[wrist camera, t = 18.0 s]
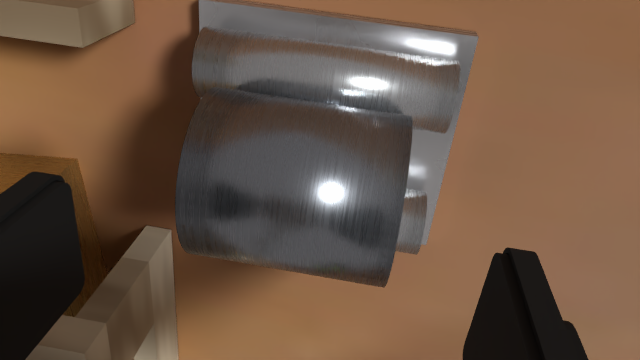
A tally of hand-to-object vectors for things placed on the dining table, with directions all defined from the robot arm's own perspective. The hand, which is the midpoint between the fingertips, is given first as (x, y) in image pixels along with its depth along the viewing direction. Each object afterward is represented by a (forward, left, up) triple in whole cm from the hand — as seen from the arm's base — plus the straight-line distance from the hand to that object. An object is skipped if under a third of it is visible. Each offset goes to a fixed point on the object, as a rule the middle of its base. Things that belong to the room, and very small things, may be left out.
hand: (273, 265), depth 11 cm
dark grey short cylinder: (+2, 0, -1) cm, 2 cm away
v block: (+1, 0, -7) cm, 7 cm away
